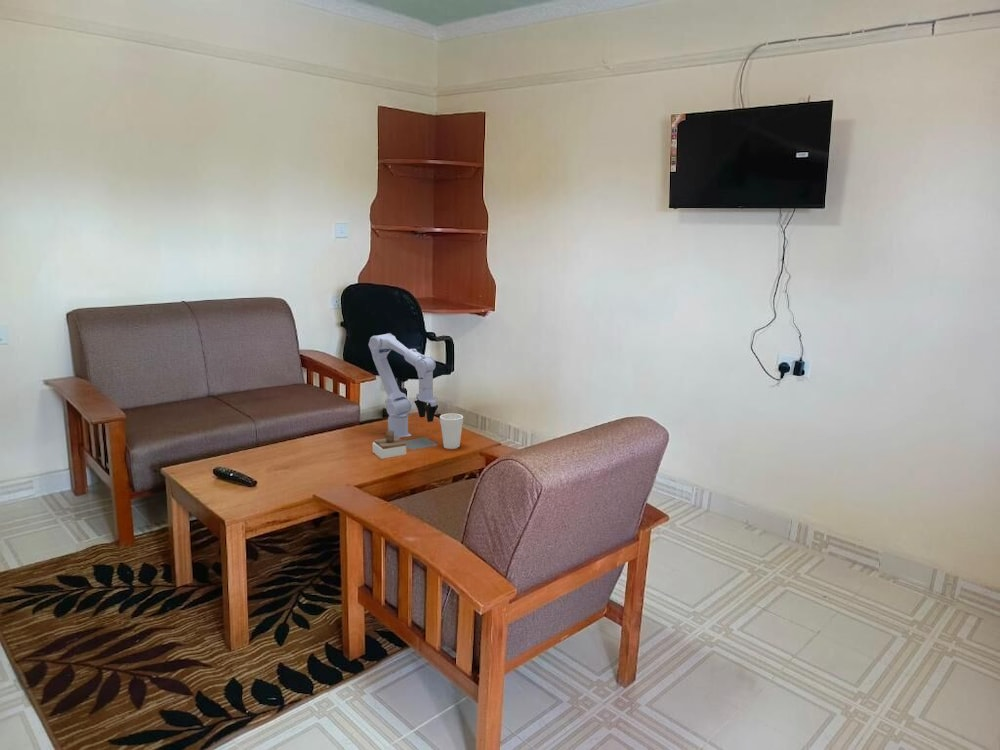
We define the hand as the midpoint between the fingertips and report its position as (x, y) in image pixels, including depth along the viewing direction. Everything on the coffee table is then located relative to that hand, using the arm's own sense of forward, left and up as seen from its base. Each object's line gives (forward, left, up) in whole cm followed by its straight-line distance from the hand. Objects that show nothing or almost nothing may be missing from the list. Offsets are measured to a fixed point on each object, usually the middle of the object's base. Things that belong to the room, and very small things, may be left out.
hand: (426, 419), depth 290 cm
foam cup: (+11, +6, -10) cm, 16 cm away
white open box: (+6, -19, -10) cm, 22 cm away
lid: (+6, -19, -6) cm, 20 cm away
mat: (+1, -4, -10) cm, 11 cm away
